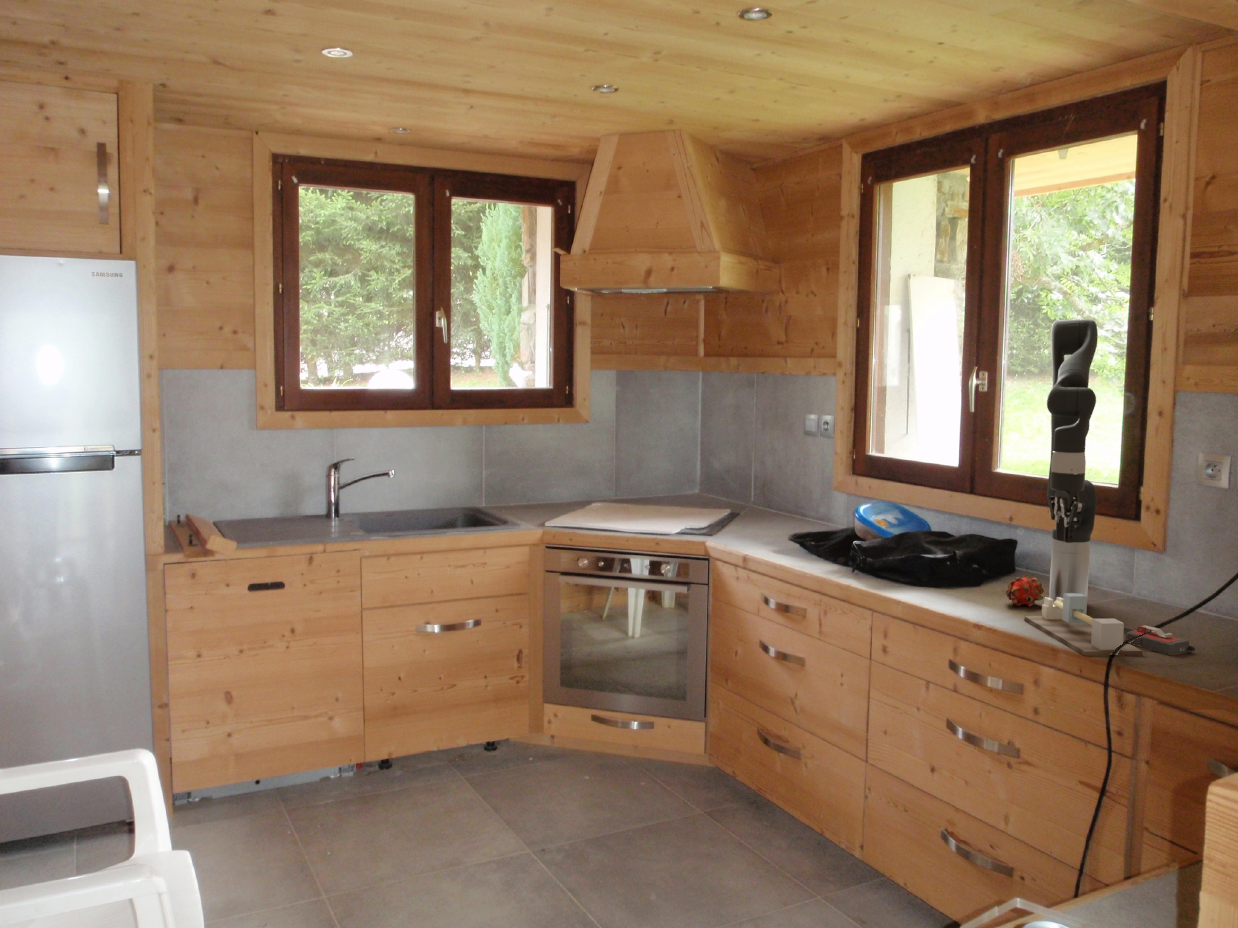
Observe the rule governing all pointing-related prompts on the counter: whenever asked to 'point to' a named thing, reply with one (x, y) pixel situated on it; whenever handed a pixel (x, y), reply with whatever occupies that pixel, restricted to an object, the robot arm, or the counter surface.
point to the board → (1076, 636)
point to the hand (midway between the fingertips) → (1064, 540)
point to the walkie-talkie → (1158, 640)
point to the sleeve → (1073, 606)
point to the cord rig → (1103, 630)
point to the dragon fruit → (1024, 591)
